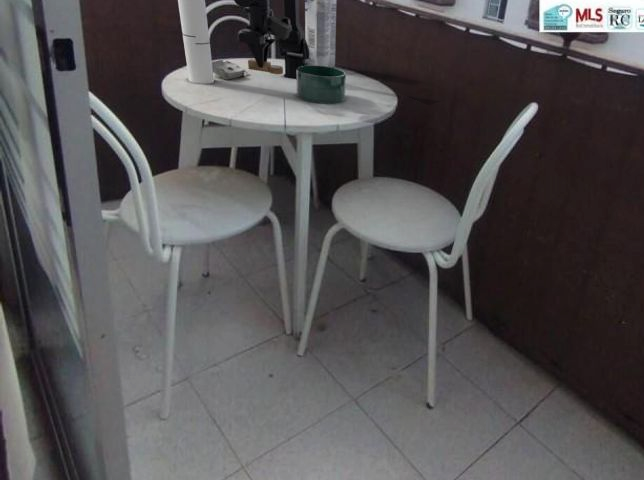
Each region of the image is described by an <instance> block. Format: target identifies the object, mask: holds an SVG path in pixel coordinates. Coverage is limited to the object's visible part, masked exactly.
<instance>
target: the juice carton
mask: <svg viewBox="0 0 644 480" xmlns="http://www.w3.org/2000/svg"><path fill="white" fill-rule="evenodd" d="M304 22H305V23H304V25H305V27H304V28H305V29H304V33H305V40H306V42H307V45H308V48H309V51H310V53H309V54H310V55H309V59H305V62H307V65H317V66H326V67H332V68H336V67H335V66H336V41H337V39H336V38H337V37H336V35H337V33H336V32H337V0H304Z"/></svg>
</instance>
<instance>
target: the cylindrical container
mask: <svg viewBox="0 0 644 480" xmlns="http://www.w3.org/2000/svg"><path fill="white" fill-rule="evenodd" d="M177 3H178V4H177V5H178V11H179V18H180V25H181V32H182V40H183V45H184V46H183V47H184V54H185V61H186V69H187V76H188V81H189V82H190V83H194V84H202V85H206V84H207V85H208V84H213V83H214V82H215V79H214V73H213V68H212V62H213V61H212V51H211V42H210V33H209V25H208V16H207V6H206V0H177Z"/></svg>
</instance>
